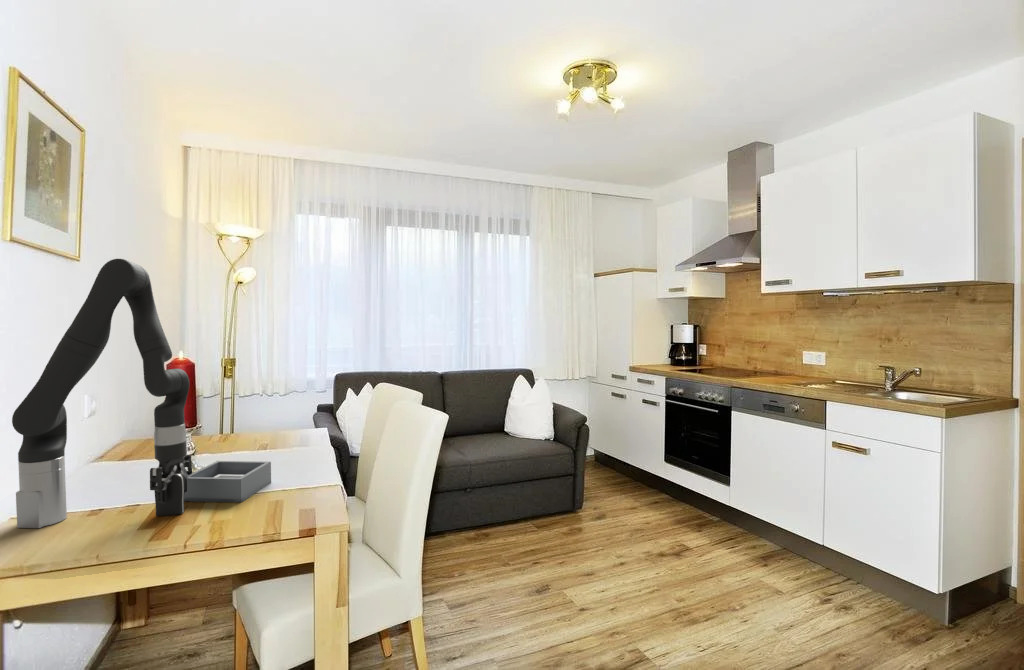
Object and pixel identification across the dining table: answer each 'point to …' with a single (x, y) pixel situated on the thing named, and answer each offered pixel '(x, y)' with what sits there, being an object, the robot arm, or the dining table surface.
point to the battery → (172, 497)
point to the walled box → (227, 481)
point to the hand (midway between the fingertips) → (172, 497)
